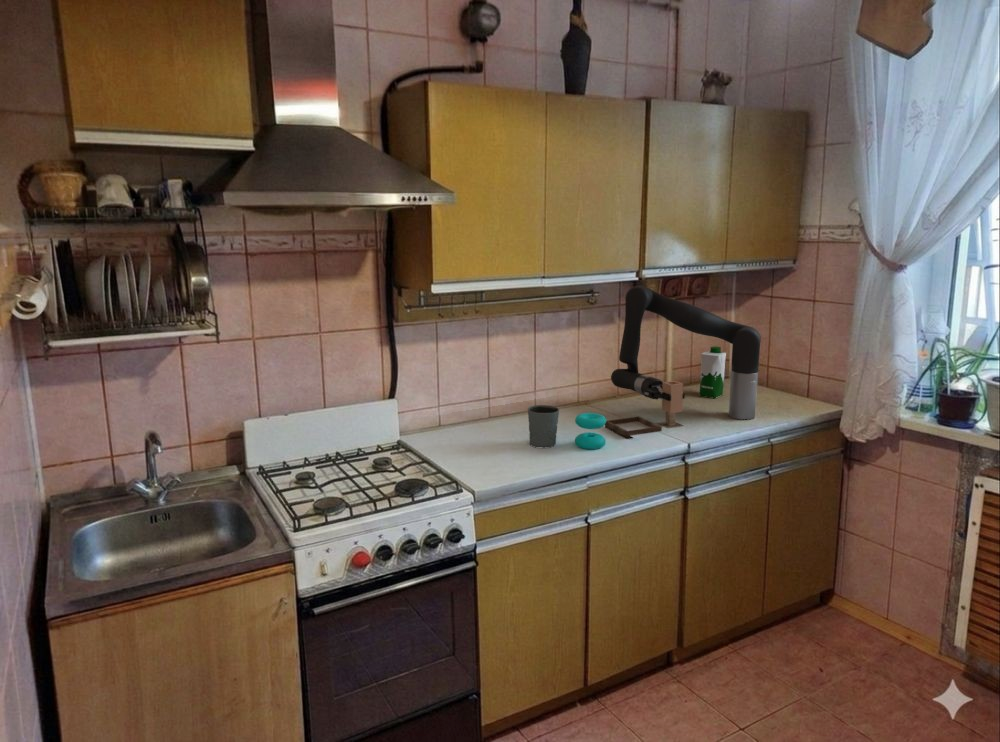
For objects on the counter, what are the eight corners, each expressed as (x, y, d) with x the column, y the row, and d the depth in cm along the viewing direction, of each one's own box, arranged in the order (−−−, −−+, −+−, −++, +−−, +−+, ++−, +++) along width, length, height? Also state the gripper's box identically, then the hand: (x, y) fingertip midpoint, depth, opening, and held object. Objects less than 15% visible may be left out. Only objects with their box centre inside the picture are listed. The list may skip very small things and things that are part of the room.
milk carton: (725, 395, 288) (728, 347, 284) (716, 399, 281) (719, 351, 277) (705, 391, 294) (708, 345, 289) (696, 396, 287) (698, 348, 282)
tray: (604, 427, 246) (605, 420, 246) (638, 422, 251) (638, 416, 251) (626, 438, 233) (626, 432, 233) (661, 433, 239) (661, 427, 238)
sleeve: (661, 409, 246) (662, 382, 244) (673, 408, 248) (674, 380, 246) (670, 413, 241) (671, 385, 239) (682, 411, 243) (683, 383, 241)
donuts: (611, 418, 222) (584, 421, 219) (611, 448, 225) (583, 452, 221) (596, 410, 231) (569, 413, 228) (596, 439, 234) (569, 442, 230)
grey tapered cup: (522, 442, 231) (521, 407, 228) (546, 437, 236) (546, 403, 233) (539, 450, 222) (540, 414, 220) (564, 445, 228) (565, 409, 225)
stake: (655, 425, 248) (657, 392, 245) (672, 423, 250) (673, 390, 248) (667, 431, 242) (669, 397, 239) (684, 428, 244) (686, 395, 242)
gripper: (632, 378, 253) (660, 389, 237) (665, 374, 258) (694, 384, 243) (632, 398, 254) (659, 410, 239) (665, 394, 260) (693, 405, 244)
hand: (677, 397), depth 241 cm, fingers closed on sleeve, 5 cm apart
